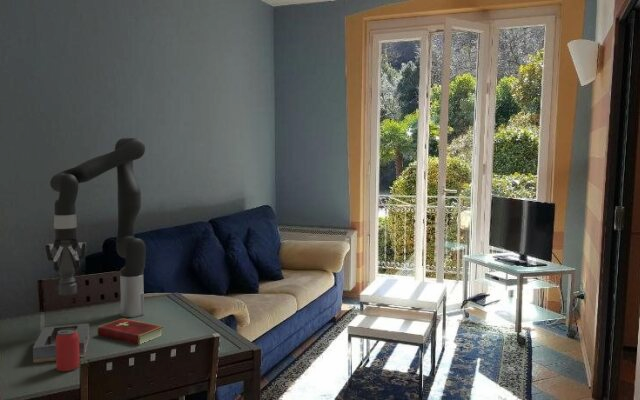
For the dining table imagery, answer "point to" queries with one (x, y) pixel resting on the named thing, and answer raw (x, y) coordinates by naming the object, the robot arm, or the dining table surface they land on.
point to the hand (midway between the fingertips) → (67, 270)
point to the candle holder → (66, 270)
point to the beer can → (67, 350)
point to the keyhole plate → (47, 342)
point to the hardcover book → (130, 331)
